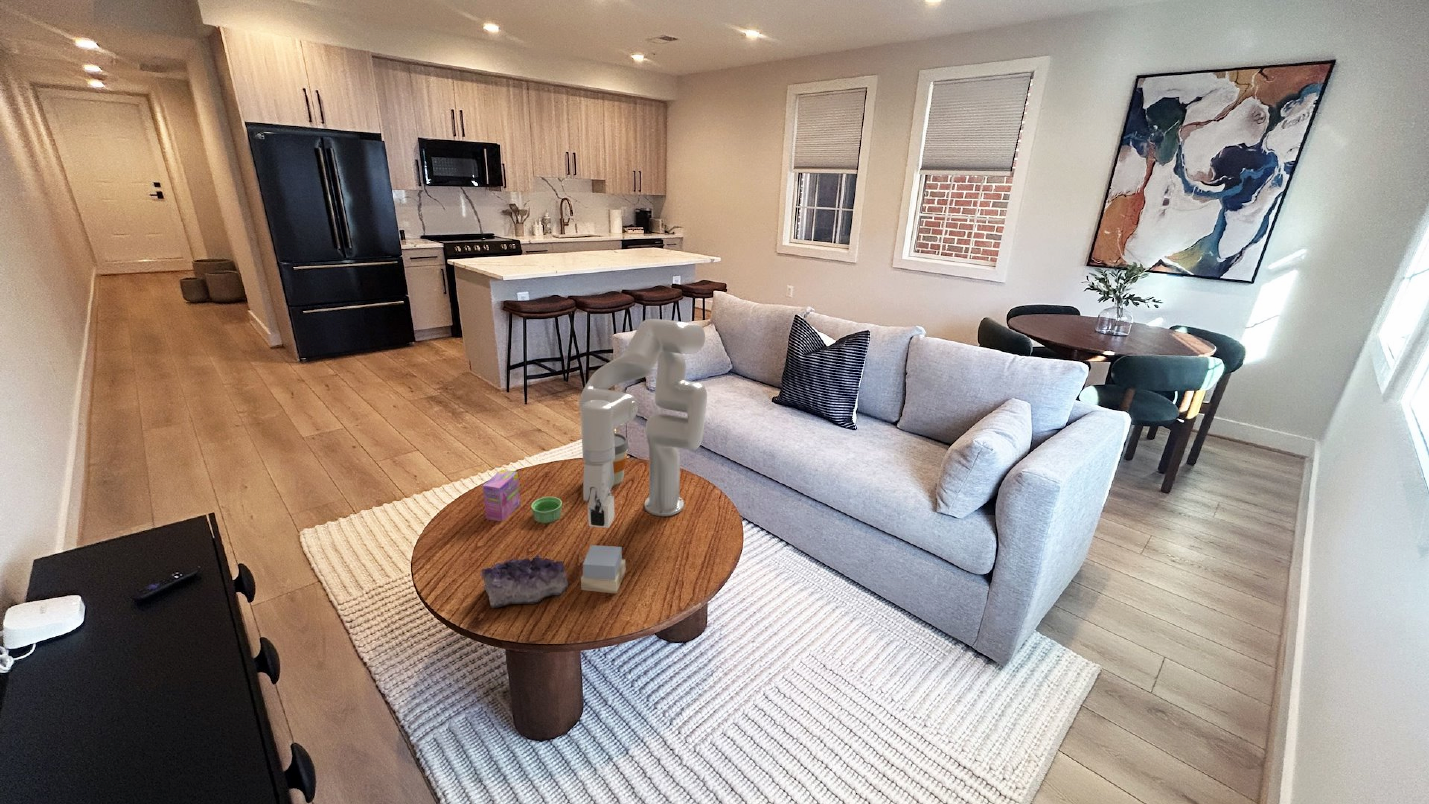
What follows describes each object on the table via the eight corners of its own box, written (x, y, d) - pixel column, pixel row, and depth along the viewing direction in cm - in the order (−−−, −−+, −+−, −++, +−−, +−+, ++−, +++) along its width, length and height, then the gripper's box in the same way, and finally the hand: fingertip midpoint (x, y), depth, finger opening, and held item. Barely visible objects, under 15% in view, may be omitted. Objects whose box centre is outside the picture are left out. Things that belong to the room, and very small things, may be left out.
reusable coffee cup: (586, 485, 188) (584, 445, 182) (599, 468, 199) (598, 430, 194) (621, 490, 186) (620, 449, 181) (633, 472, 198) (632, 434, 192)
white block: (595, 514, 139) (594, 494, 137) (614, 516, 139) (613, 496, 136) (588, 526, 134) (587, 504, 132) (608, 528, 134) (607, 506, 132)
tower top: (591, 557, 146) (591, 545, 144) (621, 559, 145) (621, 547, 144) (583, 577, 138) (582, 564, 137) (615, 579, 138) (614, 566, 137)
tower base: (592, 568, 148) (592, 556, 146) (625, 572, 147) (625, 559, 146) (581, 591, 139) (580, 578, 138) (616, 594, 139) (615, 581, 137)
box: (503, 522, 166) (499, 487, 162) (486, 519, 167) (481, 485, 163) (521, 504, 175) (517, 471, 171) (504, 502, 176) (501, 469, 172)
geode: (566, 570, 146) (566, 541, 142) (568, 604, 137) (568, 574, 132) (484, 579, 140) (480, 550, 136) (480, 616, 131) (476, 585, 126)
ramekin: (561, 506, 175) (560, 494, 173) (563, 522, 167) (562, 509, 165) (531, 510, 172) (530, 498, 171) (532, 526, 164) (531, 513, 163)
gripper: (594, 436, 138) (597, 499, 145) (570, 467, 122) (574, 536, 129) (624, 438, 137) (625, 502, 144) (603, 470, 122) (605, 540, 128)
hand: (601, 517), depth 136 cm, fingers closed on white block, 5 cm apart
